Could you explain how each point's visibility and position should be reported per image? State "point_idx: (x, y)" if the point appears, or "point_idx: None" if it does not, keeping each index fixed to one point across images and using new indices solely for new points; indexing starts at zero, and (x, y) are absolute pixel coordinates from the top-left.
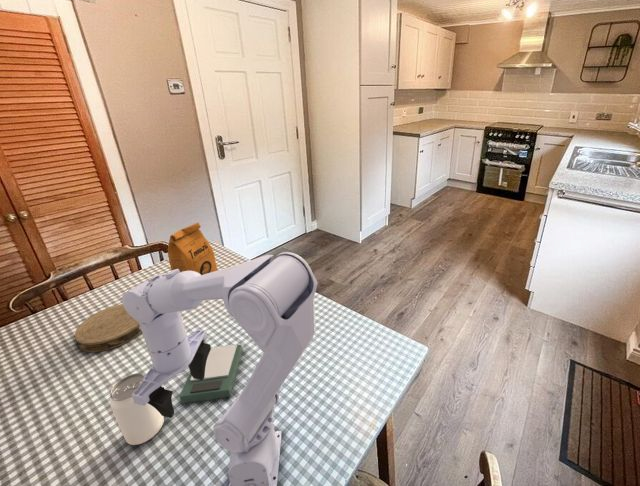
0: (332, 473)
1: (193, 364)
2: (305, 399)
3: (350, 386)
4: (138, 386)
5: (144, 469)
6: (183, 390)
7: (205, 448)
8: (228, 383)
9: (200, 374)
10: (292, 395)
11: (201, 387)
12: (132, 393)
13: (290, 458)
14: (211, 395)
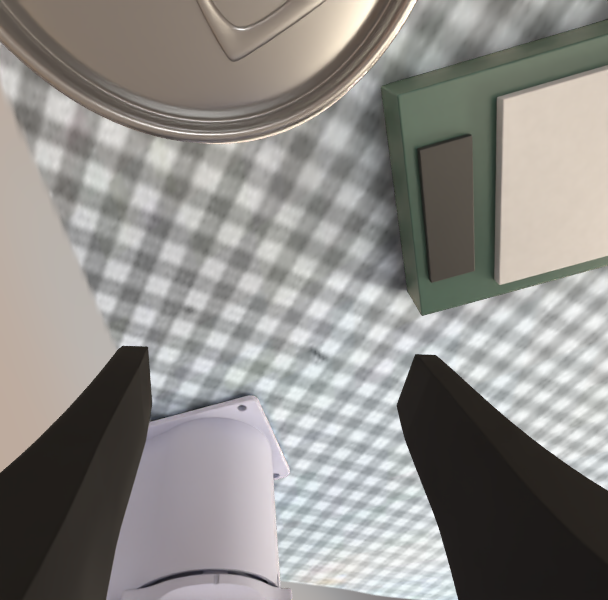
0: None
1: (473, 494)
2: (387, 480)
3: (420, 540)
4: (226, 43)
5: (62, 128)
6: (437, 92)
7: (205, 312)
8: (454, 301)
9: (415, 446)
10: (402, 453)
11: (444, 195)
12: (112, 35)
13: None
14: (407, 240)
